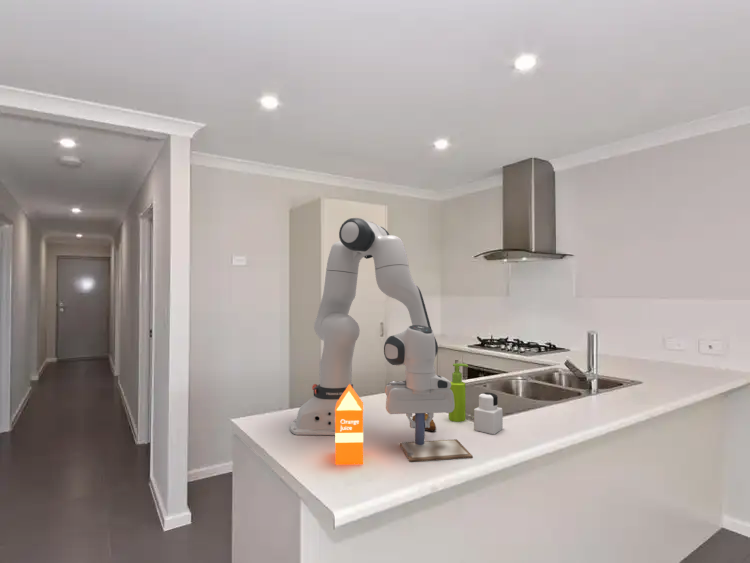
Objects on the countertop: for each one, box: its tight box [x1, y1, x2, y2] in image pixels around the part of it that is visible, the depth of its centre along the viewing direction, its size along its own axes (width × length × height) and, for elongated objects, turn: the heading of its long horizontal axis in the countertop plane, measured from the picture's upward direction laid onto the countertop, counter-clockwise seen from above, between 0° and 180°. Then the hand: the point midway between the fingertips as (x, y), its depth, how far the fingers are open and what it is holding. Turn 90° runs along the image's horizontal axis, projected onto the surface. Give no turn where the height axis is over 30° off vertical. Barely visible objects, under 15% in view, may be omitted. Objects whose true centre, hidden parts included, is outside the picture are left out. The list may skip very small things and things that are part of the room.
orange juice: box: [334, 384, 364, 466], centre depth 122 cm, size 8×9×20 cm
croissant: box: [411, 413, 437, 432], centre depth 149 cm, size 14×7×5 cm, turn 25°
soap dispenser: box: [448, 362, 469, 423], centre depth 156 cm, size 6×7×20 cm
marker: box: [414, 413, 426, 445], centre depth 129 cm, size 3×3×12 cm
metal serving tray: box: [399, 438, 474, 463], centre depth 127 cm, size 18×13×2 cm
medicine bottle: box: [473, 392, 504, 435], centre depth 145 cm, size 7×7×12 cm
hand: (419, 427), depth 129 cm, fingers closed on marker, 3 cm apart
